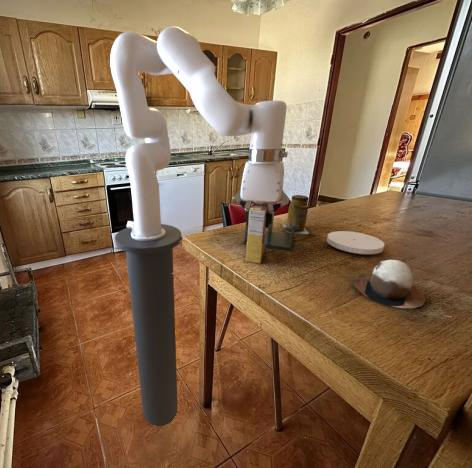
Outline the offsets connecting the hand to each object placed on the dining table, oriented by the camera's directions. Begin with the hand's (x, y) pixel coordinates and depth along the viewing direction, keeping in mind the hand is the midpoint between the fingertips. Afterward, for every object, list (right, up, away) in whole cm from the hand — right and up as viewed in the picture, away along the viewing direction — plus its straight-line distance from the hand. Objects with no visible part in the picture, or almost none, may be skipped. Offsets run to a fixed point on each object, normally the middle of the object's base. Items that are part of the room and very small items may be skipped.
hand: (257, 224), depth 71 cm
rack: (+9, -5, +14) cm, 17 cm away
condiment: (+21, -1, +22) cm, 30 cm away
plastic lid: (+31, -7, +7) cm, 33 cm away
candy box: (0, -9, +4) cm, 10 cm away
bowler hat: (+23, -15, -14) cm, 31 cm away
